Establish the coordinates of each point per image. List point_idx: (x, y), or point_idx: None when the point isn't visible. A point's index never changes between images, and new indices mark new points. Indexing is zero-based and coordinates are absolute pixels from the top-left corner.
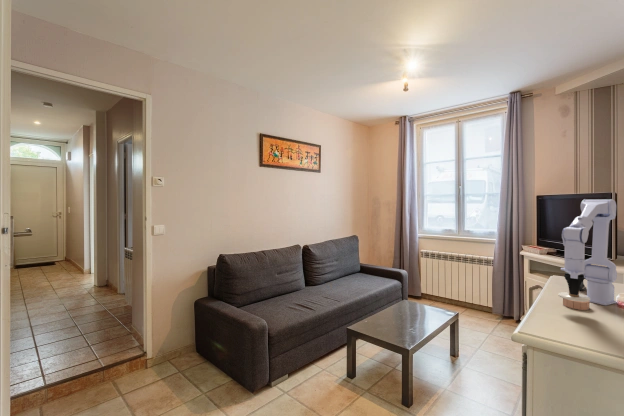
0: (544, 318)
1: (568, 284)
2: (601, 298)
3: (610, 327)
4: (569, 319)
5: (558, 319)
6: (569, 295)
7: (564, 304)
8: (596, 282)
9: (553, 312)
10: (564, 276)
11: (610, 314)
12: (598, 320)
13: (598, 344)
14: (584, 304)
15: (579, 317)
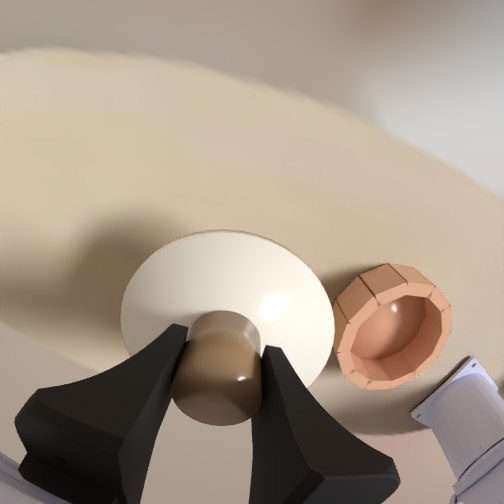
0: (68, 113)
1: (115, 368)
2: (437, 420)
3: (108, 359)
4: (111, 229)
5: (83, 176)
6: (211, 313)
7: (380, 269)
8: (478, 458)
9: (197, 169)
10: (37, 407)
11: None
12: None
13: None
14: (338, 360)
15: None
